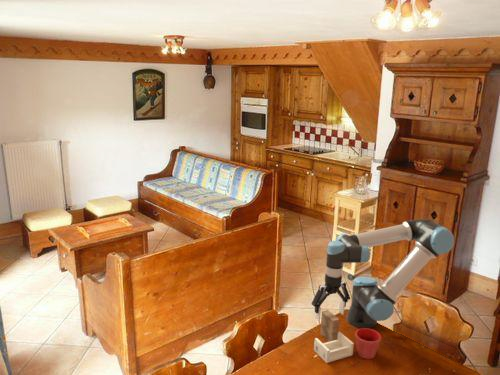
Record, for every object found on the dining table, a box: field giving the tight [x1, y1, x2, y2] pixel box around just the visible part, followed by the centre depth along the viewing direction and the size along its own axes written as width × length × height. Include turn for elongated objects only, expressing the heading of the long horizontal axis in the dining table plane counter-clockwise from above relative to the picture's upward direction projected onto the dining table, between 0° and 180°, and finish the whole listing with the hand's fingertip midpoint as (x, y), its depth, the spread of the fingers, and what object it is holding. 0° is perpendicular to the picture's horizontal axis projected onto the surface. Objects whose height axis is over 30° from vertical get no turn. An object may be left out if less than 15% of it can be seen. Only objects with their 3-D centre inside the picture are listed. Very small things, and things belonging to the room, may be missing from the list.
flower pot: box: [355, 328, 382, 360], centre depth 195 cm, size 11×11×10 cm
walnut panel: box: [319, 309, 340, 342], centre depth 206 cm, size 9×4×12 cm, turn 25°
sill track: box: [313, 331, 355, 364], centre depth 195 cm, size 14×10×6 cm
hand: (329, 316), depth 205 cm, fingers open, 13 cm apart
